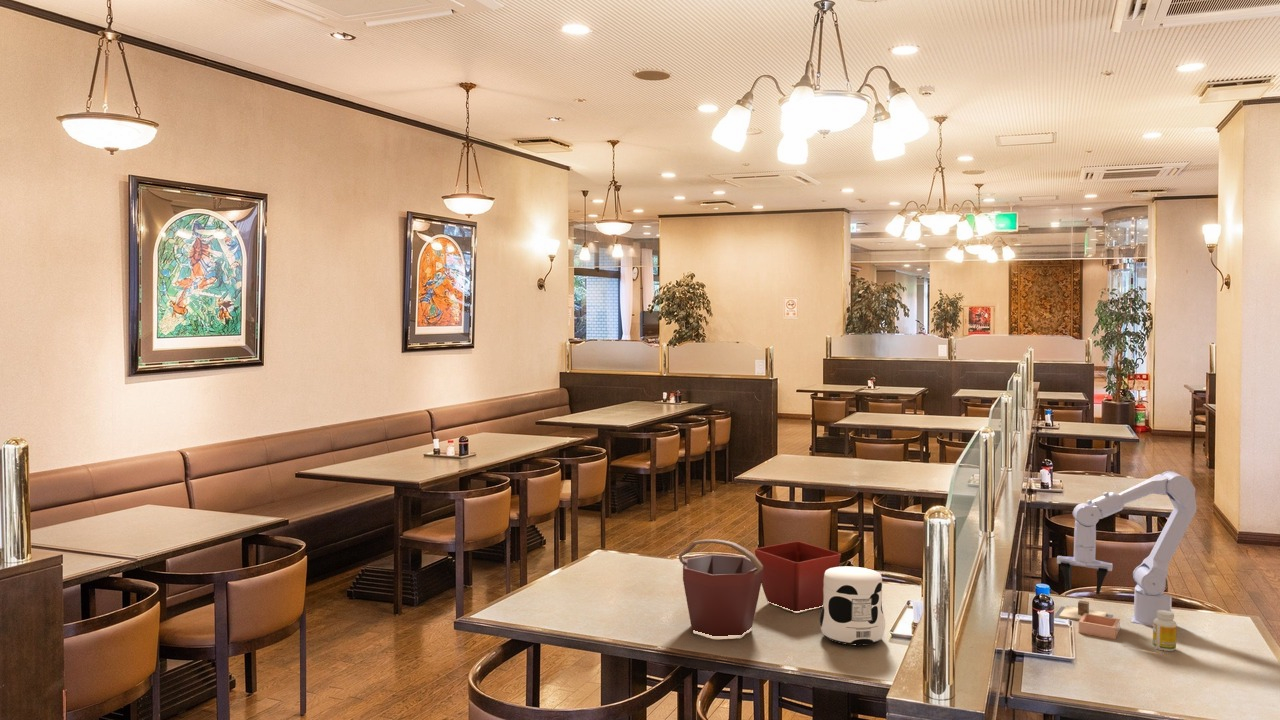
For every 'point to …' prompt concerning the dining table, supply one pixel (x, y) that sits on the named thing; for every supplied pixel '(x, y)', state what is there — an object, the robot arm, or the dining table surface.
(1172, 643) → the supplement bottle
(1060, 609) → the mat
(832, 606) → the milk container
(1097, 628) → the terracotta open box
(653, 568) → the dining table surface
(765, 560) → the plant pot
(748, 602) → the bucket
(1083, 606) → the lid
